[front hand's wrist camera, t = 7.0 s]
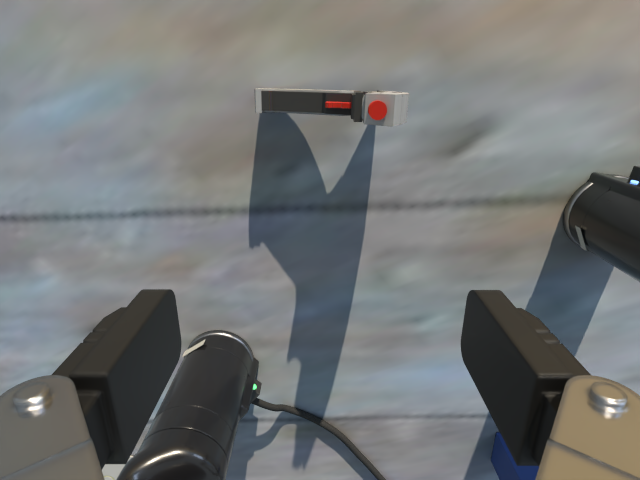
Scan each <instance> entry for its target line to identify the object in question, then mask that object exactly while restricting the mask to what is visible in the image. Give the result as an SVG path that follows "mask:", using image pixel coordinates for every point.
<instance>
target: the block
mask: <svg viewBox="0 0 640 480" xmlns="http://www.w3.org/2000/svg"><path fill="white" fill-rule="evenodd" d="M491 462H492V464H493V466H494V468H495V470H496V473H497V475H498V477H499V479H500V480H535V479H536V476H537V473H538V469H539V466H517V465H516V463H515V461H514V459H513V457H512V455H511V453H510V451H509V449H508V447H507V445H506V443H505V441H504V439H503V437H502V435H501V434H500V432H497V433H496V436H495V442H494V447H493V452H492V457H491Z"/></svg>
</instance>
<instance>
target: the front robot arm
mask: <svg viewBox="0 0 640 480" xmlns="http://www.w3.org/2000/svg"><path fill="white" fill-rule="evenodd" d="M180 352H181V335H180V328H179V321H178V313H177V306H176V299H175V295H174V292H173V291H172V290H141V291H140V292H139V293H138V295H137V296H136V297H135V298H134V299H133V300H132V302H131V303H130V304H129V305H128V306H127V307H126V308H120V309H118V310H116V311H115V312H113V313H111V314H110V315H108V316H106V317H105V318H103V319H102V321H101V322H100V323H99V324H98V325H97V326H96V327H95V328H94V329H93V332H92V333H90V334H89V335H88V336H87V337H86V338H85V339H84V340H83V343H80V344H79V346H78V347H77V348H76V349H75V350H74V351H73V352H72V353H71V354H70V355H69V356H68V358H67V359H66V360H65V361H64V362H63V363H62V364H61V365H60V366H59V367H58V368H57V370H56V371H55V372H54V373H53V374H52V375H49V376H42V377H37V378H34V379H31V380H28V381H25V382H23V383H21V384H18V385H16V386H15V387H13V388H11V389H9V390H8V391H6V392H5V393H3V394H2V395H1V396H0V480H105V479H104V476H103V473H102V469H103V467H104V465H105V464H125V466H124V467H123V469H122V470H121V472H120V474H119V476H118V477H117V479H116V480H225V478H226V474H227V470H228V465H229V461H230V457H231V453H232V448H233V444H234V440H235V436H236V431H237V427H238V423H239V420H240V419H241V418H242V417H243V416H244V415H245V414H246V413H247V412H248V410H249V406H250V404H251V403H252V404H254V405H257V406H259V407H262V408H265V409H268V410H272V411H285V412H289V413H292V414H295V415H298V416H300V417H303V418H305V419H308V420H310V421H312V422H314V423H316V424H318V425H320V426H321V427H323V428H325V429H326V430H328V431H329V432H331V433H332V434H334V435H335V436H336V437H338V438H339V439H340V440H341V441H342V442H343V443H344V444H345V445H346V446H347V447H348V448H349V449H350V450H351V451H352V452H353V453H354V454H355V456H356V457H357V458H358V459H359V460H360V461H361V462H362V463H363V464H364V465H365V466H366V467H367V468H368V469H369V470H370V471H371V473H372V474H373V475H374V476H375V477H376V478H377V479H378V480H386V479H385V478H384V477H383V476H382V475H381V474H380V473H379V472H378V470H377V469H376V468H375V467H374V466H373V465H372V464H371V463H370V462H369V461H368V459H367V458H366V457H365V456H364V455H363V454H362V453H361V452H360V451H359V450H358V449H357V448H356V447H355V446H354V444H353V443H352V442H351V441H350V440H349V439H348V438H347V437H346V436H345V435H344V434H342V433H341V432H340V431H339V430H337V429H336V428H335V427H333V426H332V425H330V424H328V423H327V422H325V421H323V420H322V419H320V418H318V417H316V416H314V415H312V414H309V413H307V412H305V411H302V410H299V409H297V408H294V407H291V406H287V405H282V404H280V405H275V404H271V403H268V402H265V401H263V400H260V399H258V398H257V397H258V396H259V394H260V389H261V384H262V383H260V382H259V381H257V380H256V379H255V378H256V373H257V369H258V364H259V361H258V360H256V359H255V358H254V357H253V353H252V350H251V348H250V347H249V345H248V344H247V343H246V342H245V341H244V340H243V339H242V338H241V337H239V336H237V335H235V334H233V333H231V332H227V331H221V330H214V331H208V332H205V333H202V334H201V335H199V336H197V337H196V338H195V339H194V340H193V341H192V342H191V344H190V345H189V347H188V350H186V351H185V352H184V354H183V356H185V357H184V359H183V361H182V363H181V365H180V367H179V369H178V371H177V373H176V375H175V377H174V380H173V382H172V384H171V386H170V388H169V390H168V392H167V394H166V396H165V398H164V400H163V402H162V404H161V406H160V408H159V410H158V412H157V414H156V416H155V418H154V420H153V422H152V424H151V427H150V429H149V431H148V433H147V435H146V437H145V439H144V441H143V443H142V445H141V447H140V449H139V451H138V452H137V454H135V455H134V456H133V457H132V458H131V459H130V460H129V461H128V459H129V458H130V456H131V454H132V452H133V450H134V448H135V446H136V444H137V442H138V440H139V438H140V436H141V434H142V432H143V430H144V428H145V426H146V424H147V422H148V420H149V418H150V416H151V414H152V412H153V410H154V408H155V406H156V404H157V402H158V400H159V398H160V396H161V394H162V393H163V391H164V389H165V387H166V385H167V383H168V381H169V379H170V377H171V375H172V373H173V371H174V369H175V367H176V365H177V363H178V360H179V357H180ZM461 352H462V357H463V361H464V363H465V365H466V367H467V369H468V371H469V373H470V375H471V377H472V379H473V381H474V383H475V385H476V387H477V389H478V391H479V393H480V395H481V397H482V398H483V400H484V402H485V404H486V406H487V408H488V410H489V412H490V414H491V416H492V418H493V420H494V422H495V424H496V426H497V428H498V430H499V432H500V434H501V435H502V437H503V439H504V441H505V443H506V445H507V447H508V449H509V451H510V453H511V455H512V457H513V459H514V461H515V463H516V465H517V466H539V469H538V473H537V476H536V479H535V480H640V396H639V395H638V394H637V393H635V392H634V391H632V390H631V389H629V388H627V387H625V386H624V385H622V384H619V383H617V382H615V381H612V380H609V379H606V378H602V377H598V376H591V375H590V373H589V372H588V371H587V370H586V369H585V368H584V367H583V366H582V365H581V364H580V363H579V362H578V361H577V359H576V358H575V357H574V356H573V355H572V354H571V353H570V352H569V351H568V350H567V349H566V348H565V346H564V345H563V344H560V341H559V340H558V339H557V338H556V337H555V336H554V335H553V333H550V330H549V329H548V328H547V327H546V326H545V325H544V324H543V323H542V322H541V321H540V319H538V318H537V317H535V316H533V315H532V314H530V313H528V312H527V311H525V310H523V309H522V308H516V307H515V306H514V305H513V304H512V303H511V302H510V300H509V299H508V298H507V297H506V296H505V295H504V294H503V292H502V291H500V290H471V291H470V292H469V294H468V296H467V301H466V308H465V315H464V322H463V329H462V336H461ZM183 356H182V357H183ZM127 461H128V462H127Z"/></svg>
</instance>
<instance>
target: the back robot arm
mask: <svg viewBox="0 0 640 480" xmlns="http://www.w3.org/2000/svg"><path fill="white" fill-rule="evenodd" d="M563 223H564V228H565V231H566V233H567V235H568V237H569V238H570V239H571V240H572V241H573V242H575V243H576V244H578V245H579V246H581V248H582V249H584V250H586V249H587V250H588V251H590V252H592V253H594V254H595V255H597V256H598V257H600V258H602V259H603V260H605V261H606V262H608V263H610V264H611V265H613V266H615V267H616V268H618V269H619V270H621V271H623V272H624V273H626V274H627V275H629V276H631V277H632V278H634V279H635V280H637V281H639V282H640V167H638V166H634V167H633V170H632V172H631V174H630V177H629V178H628V177H623V176H619V175H608V174H602V173H595V172H594V173H592V174H591V176H590V179H589V180H588V182H586V183H585V184H583V185H582V186H581V187H580V188H579V189H578V190H576V192H575V193H574V194H573V195H572V196H571V198H570V199H569V201H568V203H567V205H566V208H565V211H564V217H563Z"/></svg>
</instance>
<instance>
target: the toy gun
mask: <svg viewBox="0 0 640 480" xmlns="http://www.w3.org/2000/svg"><path fill="white" fill-rule="evenodd" d="M408 99H409V93H402V92H392V91H377V92H361V91H339V90H306V89H268V88H259V89H255V112H256V113H262V112H278V113H299V114H319V115H338V116H345V115H351V119H354V122H362V120H363V123H364V124H369V125H381V126H398V125H401V124H404V123H406V121H407V110H408Z"/></svg>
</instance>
